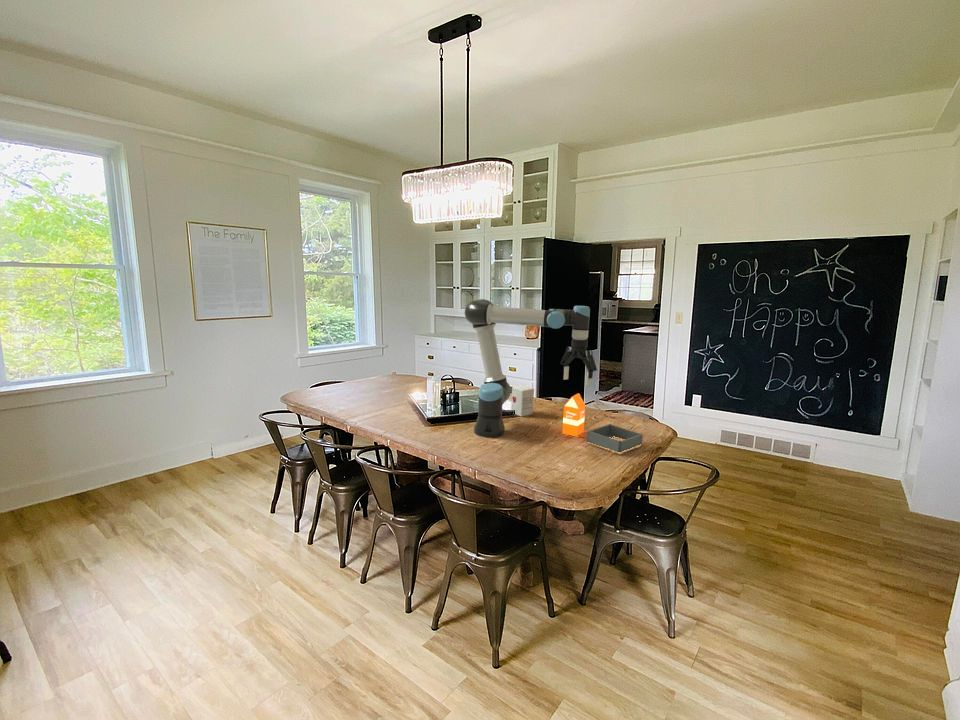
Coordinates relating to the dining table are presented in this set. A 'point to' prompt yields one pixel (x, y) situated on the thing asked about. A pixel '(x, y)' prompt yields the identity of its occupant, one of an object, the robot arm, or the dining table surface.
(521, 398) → the supplement box
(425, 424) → the dining table surface
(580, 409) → the orange juice
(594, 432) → the bin
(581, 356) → the robot arm
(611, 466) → the dining table surface
